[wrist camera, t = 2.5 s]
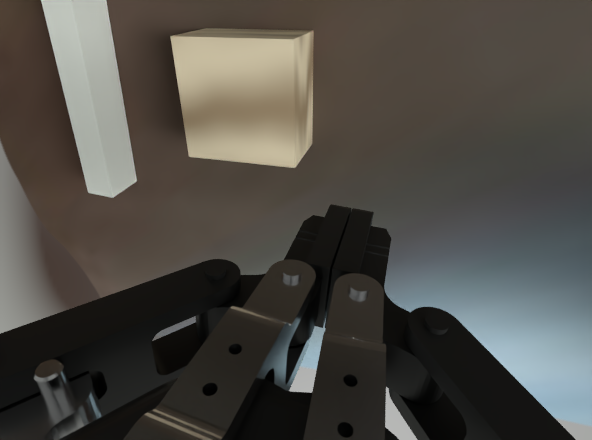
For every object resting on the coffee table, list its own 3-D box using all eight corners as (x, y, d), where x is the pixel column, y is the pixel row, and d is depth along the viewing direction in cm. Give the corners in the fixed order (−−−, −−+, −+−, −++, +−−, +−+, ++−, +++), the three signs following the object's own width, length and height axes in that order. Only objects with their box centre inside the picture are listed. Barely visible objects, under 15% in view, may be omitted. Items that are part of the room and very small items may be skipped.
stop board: (61, -85, 28) (18, -93, 25) (91, -84, 27) (52, -91, 25) (114, 176, 38) (88, 192, 36) (137, 181, 38) (112, 197, 35)
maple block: (206, 27, 29) (170, 36, 25) (314, 30, 27) (293, 39, 23) (218, 134, 33) (189, 156, 29) (312, 143, 31) (295, 167, 27)
